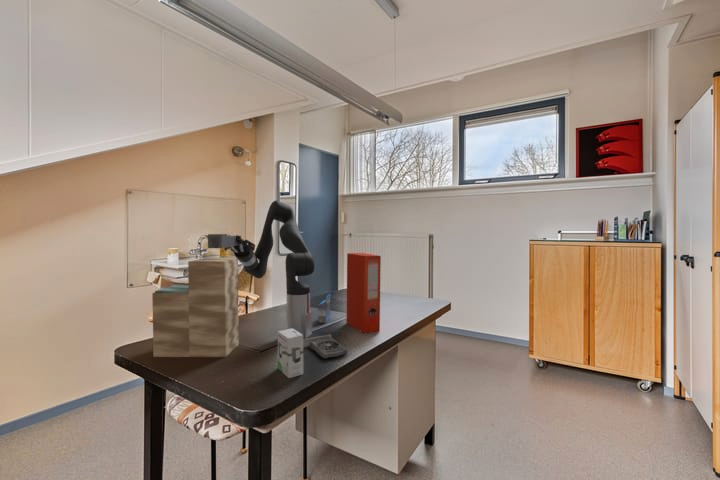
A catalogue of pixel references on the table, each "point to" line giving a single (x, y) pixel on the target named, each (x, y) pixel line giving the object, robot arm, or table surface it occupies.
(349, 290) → the file binder
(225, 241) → the plug bar
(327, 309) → the label tape cartridge
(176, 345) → the stand
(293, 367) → the ink box
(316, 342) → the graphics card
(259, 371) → the table surface
